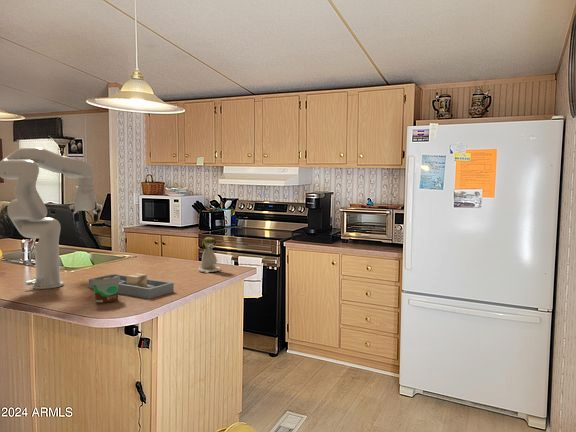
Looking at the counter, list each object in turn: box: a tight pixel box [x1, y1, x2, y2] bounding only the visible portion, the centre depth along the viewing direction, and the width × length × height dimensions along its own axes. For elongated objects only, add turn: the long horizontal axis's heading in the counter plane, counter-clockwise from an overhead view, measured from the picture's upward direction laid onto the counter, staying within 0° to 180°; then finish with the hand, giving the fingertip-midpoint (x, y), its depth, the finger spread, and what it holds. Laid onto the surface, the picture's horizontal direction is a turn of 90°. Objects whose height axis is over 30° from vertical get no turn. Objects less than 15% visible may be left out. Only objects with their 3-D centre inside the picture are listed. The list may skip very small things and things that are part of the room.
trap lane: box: [88, 273, 175, 300], centre depth 199 cm, size 14×38×4 cm, turn 61°
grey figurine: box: [198, 236, 222, 274], centre depth 242 cm, size 12×13×18 cm
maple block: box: [125, 272, 148, 287], centre depth 197 cm, size 6×6×5 cm
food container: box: [92, 273, 120, 305], centre depth 179 cm, size 12×6×10 cm, turn 158°
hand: (86, 221), depth 232 cm, fingers open, 9 cm apart
